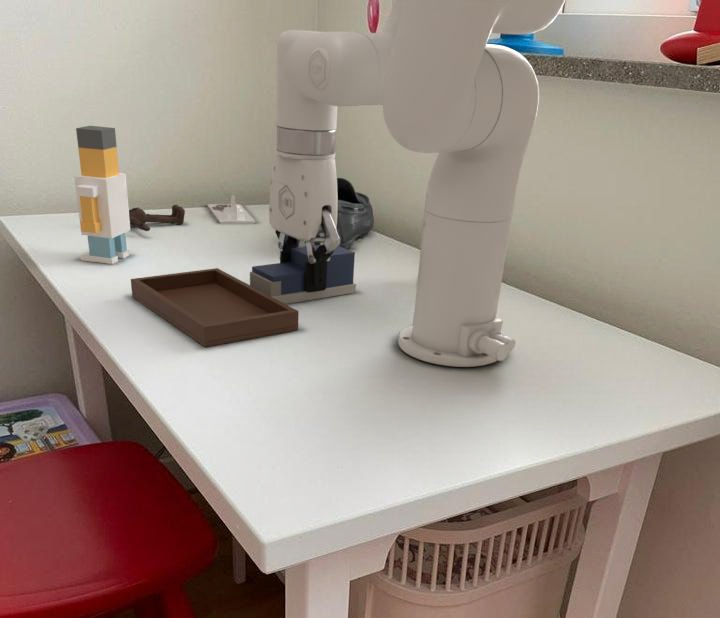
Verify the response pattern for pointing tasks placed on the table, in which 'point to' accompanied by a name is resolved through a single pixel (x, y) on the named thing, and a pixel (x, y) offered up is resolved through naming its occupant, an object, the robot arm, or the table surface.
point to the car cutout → (230, 213)
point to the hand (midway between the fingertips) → (302, 283)
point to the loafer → (351, 214)
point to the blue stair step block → (290, 277)
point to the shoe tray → (214, 306)
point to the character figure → (101, 195)
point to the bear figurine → (155, 217)
